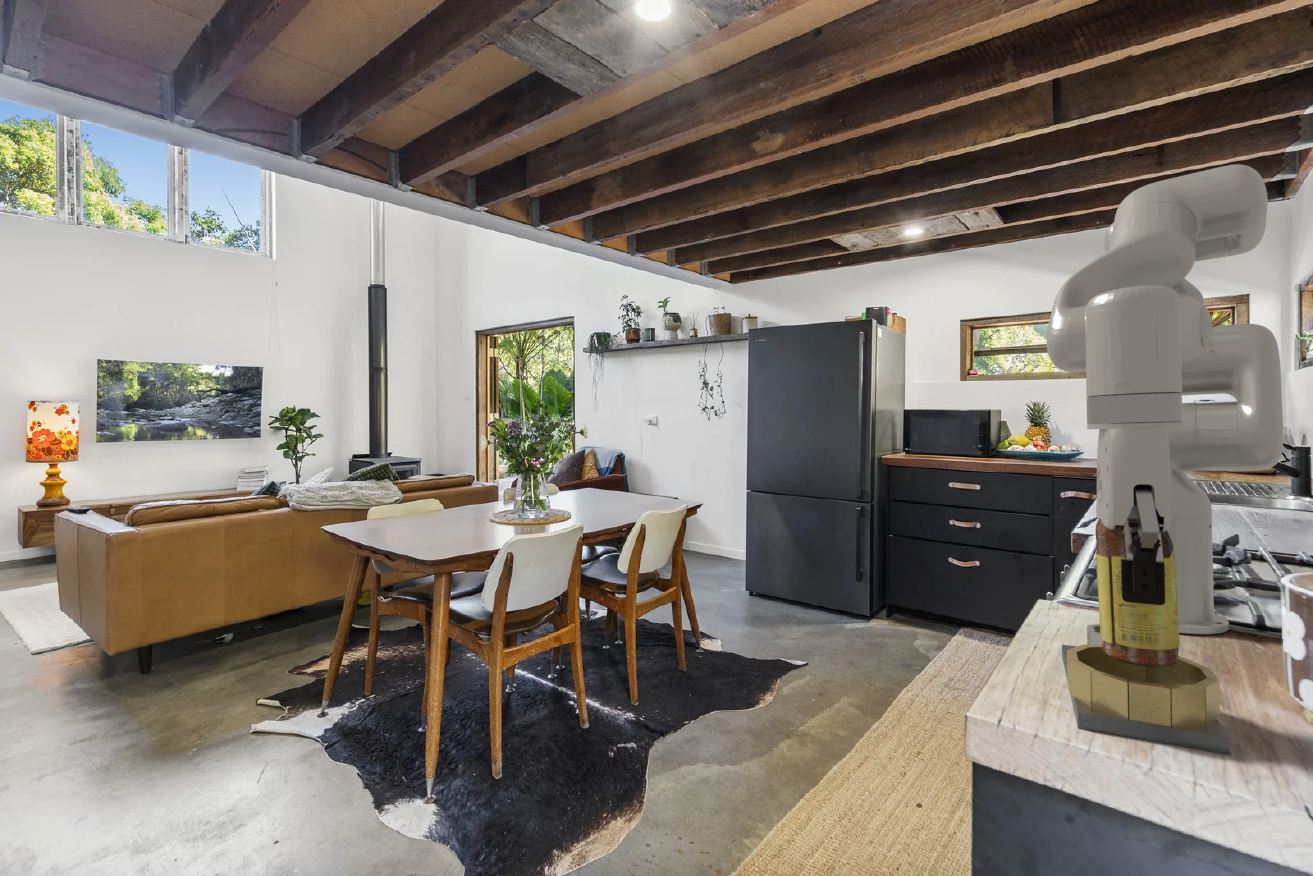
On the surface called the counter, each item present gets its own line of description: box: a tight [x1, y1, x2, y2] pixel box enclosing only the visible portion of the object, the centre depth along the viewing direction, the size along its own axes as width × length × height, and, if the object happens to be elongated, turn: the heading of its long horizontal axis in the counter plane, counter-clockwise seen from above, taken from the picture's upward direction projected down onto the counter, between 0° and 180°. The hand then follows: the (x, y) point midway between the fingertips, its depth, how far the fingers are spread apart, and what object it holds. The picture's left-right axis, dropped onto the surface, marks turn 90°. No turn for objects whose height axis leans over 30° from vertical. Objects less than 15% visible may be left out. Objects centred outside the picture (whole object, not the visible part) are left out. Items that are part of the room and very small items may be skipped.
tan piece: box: [1061, 623, 1232, 756], centre depth 65 cm, size 21×12×5 cm, turn 150°
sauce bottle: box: [1095, 485, 1181, 667], centre depth 61 cm, size 7×6×20 cm
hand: (1136, 592), depth 61 cm, fingers closed on sauce bottle, 6 cm apart
